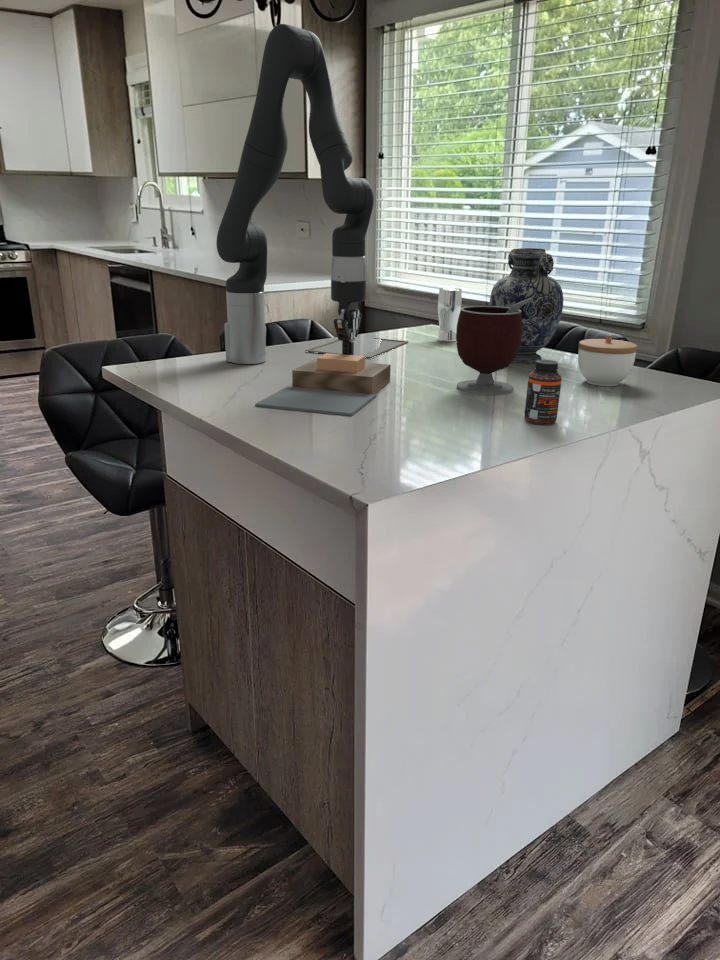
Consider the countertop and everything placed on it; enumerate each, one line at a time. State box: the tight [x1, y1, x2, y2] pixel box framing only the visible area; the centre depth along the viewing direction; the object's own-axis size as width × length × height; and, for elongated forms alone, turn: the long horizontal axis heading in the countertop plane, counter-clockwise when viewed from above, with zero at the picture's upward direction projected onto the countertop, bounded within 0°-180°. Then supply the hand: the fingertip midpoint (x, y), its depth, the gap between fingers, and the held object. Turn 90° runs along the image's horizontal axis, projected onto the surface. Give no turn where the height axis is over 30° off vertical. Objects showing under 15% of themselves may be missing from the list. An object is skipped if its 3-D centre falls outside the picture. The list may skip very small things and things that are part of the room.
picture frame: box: [305, 337, 409, 359], centre depth 206 cm, size 19×1×28 cm
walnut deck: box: [291, 358, 391, 394], centre depth 161 cm, size 18×14×4 cm
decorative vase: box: [489, 247, 564, 364], centre depth 189 cm, size 21×19×28 cm
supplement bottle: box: [523, 359, 562, 426], centre depth 134 cm, size 6×6×11 cm
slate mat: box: [254, 385, 377, 417], centre depth 147 cm, size 20×16×1 cm
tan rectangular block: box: [316, 353, 366, 373], centre depth 158 cm, size 9×6×2 cm, turn 73°
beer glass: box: [437, 287, 463, 343], centre depth 217 cm, size 7×7×15 cm
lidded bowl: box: [577, 334, 638, 387], centre depth 166 cm, size 13×13×11 cm
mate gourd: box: [455, 298, 533, 396], centre depth 157 cm, size 16×14×20 cm
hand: (347, 358), depth 162 cm, fingers closed
